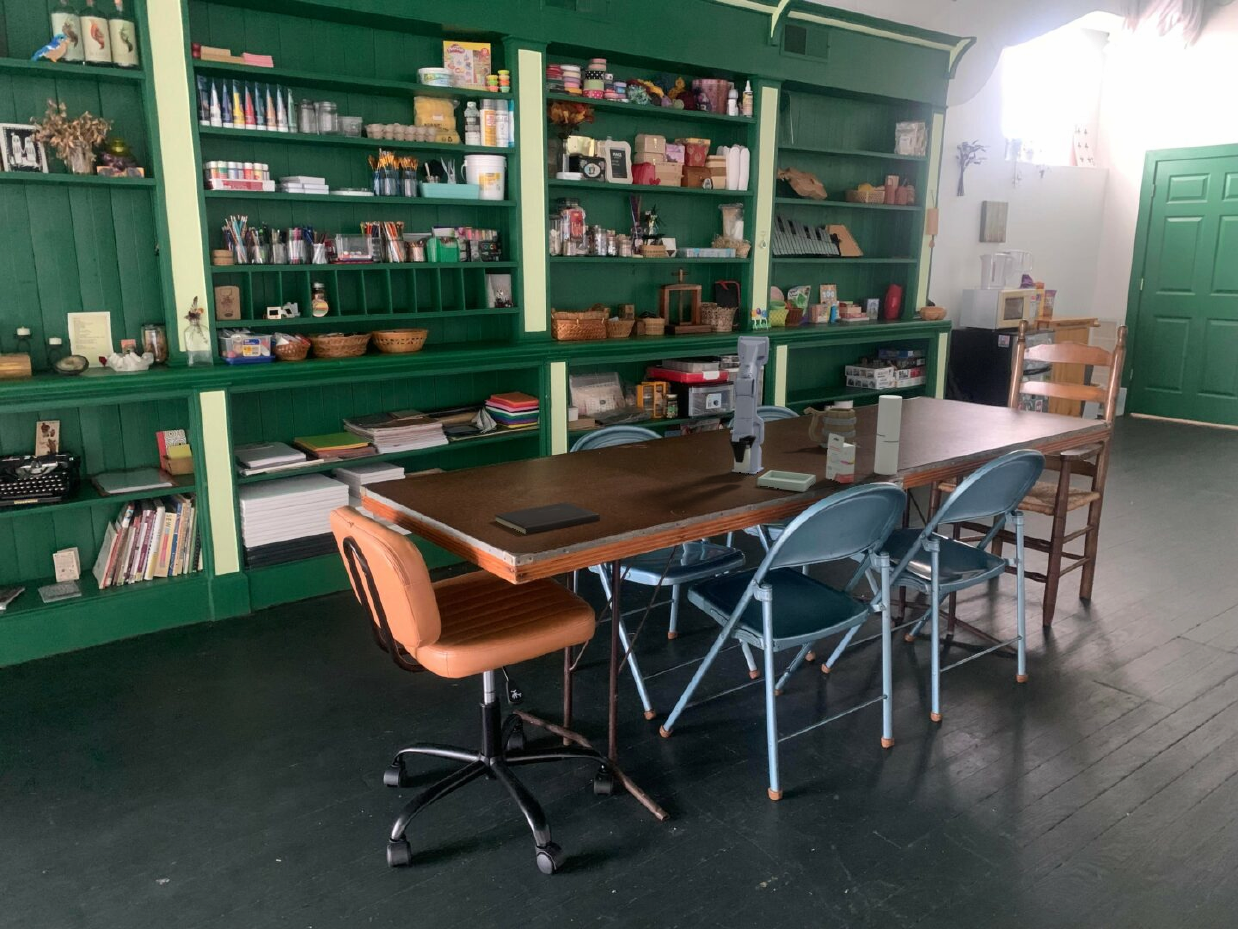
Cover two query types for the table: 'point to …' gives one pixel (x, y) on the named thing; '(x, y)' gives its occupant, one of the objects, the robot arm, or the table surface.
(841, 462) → the ink cartridge box
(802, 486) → the tray
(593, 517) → the hardcover book
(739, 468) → the shaker
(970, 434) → the table surface
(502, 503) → the table surface
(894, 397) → the cylindrical container
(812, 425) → the tankard
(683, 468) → the table surface
